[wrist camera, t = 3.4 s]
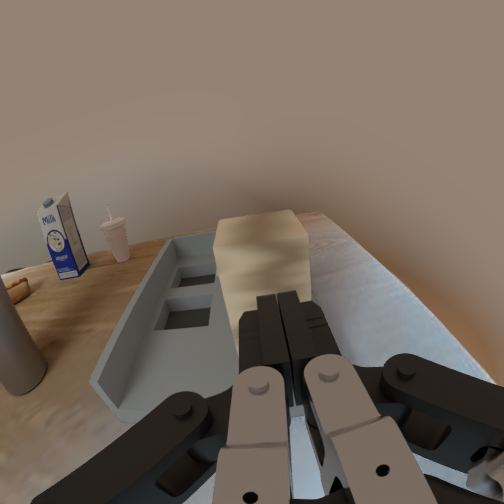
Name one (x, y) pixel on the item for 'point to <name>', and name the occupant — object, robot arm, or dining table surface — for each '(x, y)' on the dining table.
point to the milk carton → (63, 237)
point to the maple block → (260, 261)
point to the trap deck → (171, 334)
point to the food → (18, 290)
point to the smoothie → (116, 237)
